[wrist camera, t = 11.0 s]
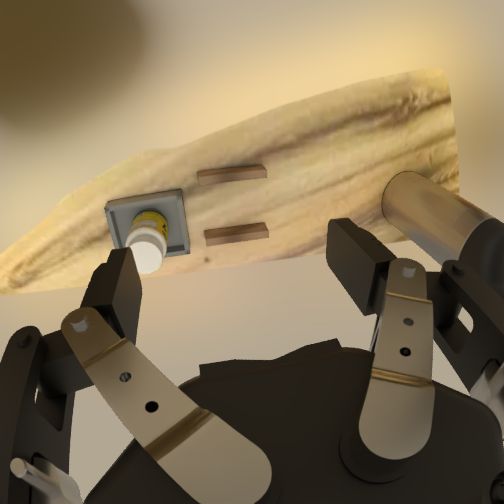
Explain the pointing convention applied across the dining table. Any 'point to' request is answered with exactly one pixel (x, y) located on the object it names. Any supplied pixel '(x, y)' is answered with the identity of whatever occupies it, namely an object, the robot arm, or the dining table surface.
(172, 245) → the tray
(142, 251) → the supplement bottle
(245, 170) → the slot rails
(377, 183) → the dining table surface
